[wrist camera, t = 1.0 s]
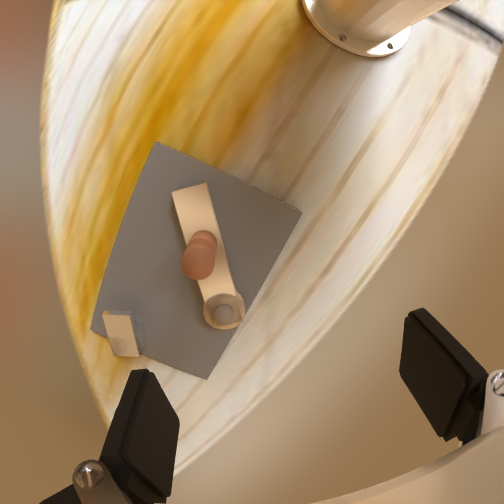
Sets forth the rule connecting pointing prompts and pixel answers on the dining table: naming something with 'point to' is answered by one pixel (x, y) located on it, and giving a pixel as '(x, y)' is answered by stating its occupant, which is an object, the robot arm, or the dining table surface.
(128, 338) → the block
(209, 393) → the dining table surface
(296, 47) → the dining table surface
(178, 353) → the base board
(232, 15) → the dining table surface
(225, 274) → the ash link
